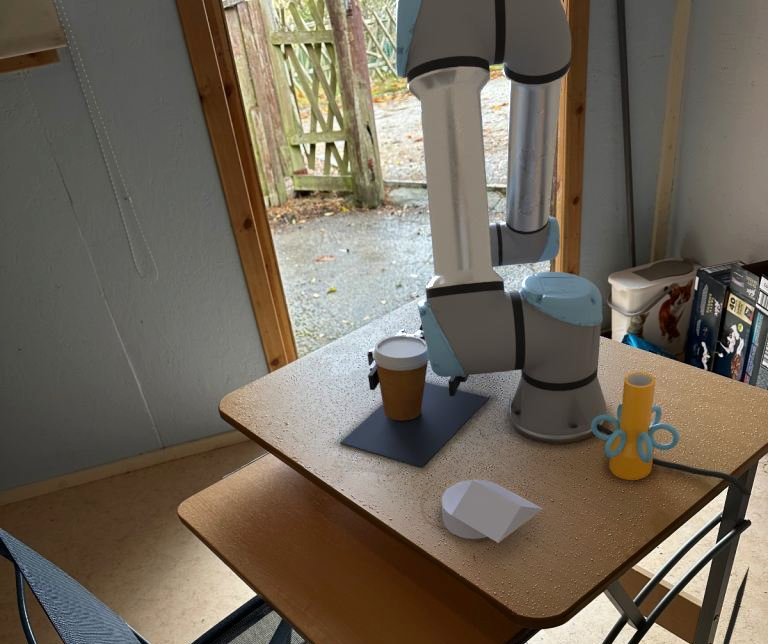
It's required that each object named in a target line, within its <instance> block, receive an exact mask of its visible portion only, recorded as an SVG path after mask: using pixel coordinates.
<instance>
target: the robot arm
mask: <svg viewBox="0 0 768 644" xmlns="http://www.w3.org/2000/svg"><path fill="white" fill-rule="evenodd" d="M395 14H396V15H395V16H396V17H395V18H396V19H395V73H396V76H398V77H400V78H402V79H406V83H407V90H408V92H409V93H410V94H411V95H412V96H413V97H415V98H416V99H417V100H418V101H419V107H420V119H421V132H422V142H423V155H424V167H425V177H426V178H425V179H426V190H427V201H428V212H429V224H430V225H429V226H430V237H431V248H432V249H431V250H432V259H433V271H434V275H433V277H432V279H431V280H430V281H429V283H428V284H427V285H426V287H425V297H426V299H422V300H421V301H419V302H418V303H417V310H418V314H419V319H420V323H421V324H420V326H419V328H418V331H416V332H415V333H413V334H410V333H409V334H408V333H407V330H406V329H400V330H399V331H398V332H397V333H396V335H394V336H401V335H405V336H414V337H418V338H421V339H423V340H424V341H426V346H427V350H428V355H429V364H430V368H431V371H432V372H433V373H434V374H435V375H437V376H438V377H442V378H446V377H450V378H449V379H448V388H449V396H454V395H455V393H456V391H457V390H459V387H460V385H461V383H466V382H467V381H468V380H469V377H470V376H475V375H485V374H493V373H494V374H495V373H503V372H513V371H520V373H521V375H520V376H521V377H520V379H519V381H518V384H517V387H516V389H515V393H514V395H513V398H511V393H510V395H509V404H508V412H509V420H510V425H511V427H512V428H513V429H514V431H515V432H516V433H518V434H519V435H521V437H524V438H525V439H528V440H530V441H533V442H536V443H541V444H545V445H547V444H549V445H568V444H574V443H575V444H576V443H578V442H582V441H585V440H588V439H590V438H592V437H594V436H595V435H594V433H593V432H592V429H591V423H592V421H593V419H594V418H595V417H597V416H599V415H607V413H608V412H607V411H608V409H607V403H606V400H605V397H604V393H603V390H602V388H601V384H600V381H599V377H598V371H599V357H600V345H601V344H600V342H601V330H602V323H603V320H604V318H603V301H602V299H603V298H602V294H601V291H600V289H599V288H598V287H597V285H596V284H594V283H593V282H592V281H590V280H589V279H587V278H584V277H582V276H579V275H577V274H573V273H568V272H562V271H561V272H560V271H542V272H537V273H534V274H532V275H528V276H526V277H525V278H524V279H523V280H522V281H521V284H520V286H519V290H513V291H506V290H505V281H504V278H503V277H502V276H501V275H500V274H499V273H498V272H496V271H495V269H494V268H497V267H505V266H515V265H525V264H537V263H543V262H548V261H552V260H554V259H556V258H557V257H558V255H559V252H560V248H561V247H560V246H561V244H560V243H561V241H560V240H561V231H560V225H559V220H558V219H557V218H556V217H555V216H550V211H551V200H552V189H553V178H554V168H555V157H556V146H557V145H556V144H557V134H558V123H559V114H560V113H559V112H560V100H561V90H562V80H563V79H564V78H565V77H566V76H567V75H568V73H569V71H570V68H571V59H572V35H571V30H570V24H569V20H568V17H567V13H566V10H565V8H564V6H563V3H562V1H561V0H396V13H395ZM495 65H502V72H503V75H504V77H505V78H506V79H507V80H508V81H509V93H508V122H507V124H508V125H507V126H508V127H507V158H506V159H507V161H506V191H505V192H506V194H505V221H501V222H500V221H499V222H494V223H490V215H489V214H490V213H489V212H490V211H489V199H488V187H487V184H488V183H487V172H486V157H485V154H486V153H485V143H484V127H483V113H482V97H481V93H482V90H483V89H484V88H485V86H486V85H487V84H488V83H489V82H490V79H491V66H495ZM374 350H375V346H374V347H372V348H371V349H368V351H366V354H367V355H366V356H367V361H368V366H369V373H368V375H367V378H368V385H369V386H368V387H369V391H375V390H376V389H377V387H378V385H379V384H380V383H379V378H378V372H377V366H376V362H375V360H374V358H373V351H374ZM511 399H512V401H511ZM606 422H607V420H601V421H599V422H598V423H597V430H598V431H599V432H600V433H602V434H604V435H611V434H612V433H613V432H614V431H613V430H611V429H610V428H607V427H605V425H606ZM652 465H655V466H658V467H662V468H667V469H671V470H677V471H682V472H686V473H689V474H692V475H699V476H705V477H709V478H716V479H721V480H724V481H727V482H729V483H731V484H732V485H734V486H735V487H737V489H739V490H740V491H741V493H742V494H743V495H745V496H751V495H752V493H751V491H750V489H749V488H748V486H746V485H745V484H744V483H743V482H742V481H741V480H740V479H738V478H736V477H734V476H733V475H731V474H728V473H726V472H722V471H717V470H711V469H704V468H698V467H693V466H689V465H685V464H681V463H677V462H672V461H667V460H662V459H658V458H656V457H653V462H652ZM749 570H750V566H748V567H747V569H746V572H745V574H744V576H743V579H742V581H741V583H740V585H739V588H738V590H737V592H736V595H735V599H734V603H733V607H732V610H731V613H730V619H729V622H728V624H727V629H726V632H725V635H724V638H723V642H722V644H730V643H731V639H732V636H733V632H734V630H735V626H736V622H737V618H738V615H739V612H740V608H741V605H742V601H743V597H744V594H745V591H746V590H745V589H746V584H747V580H748V575H749Z"/></svg>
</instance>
